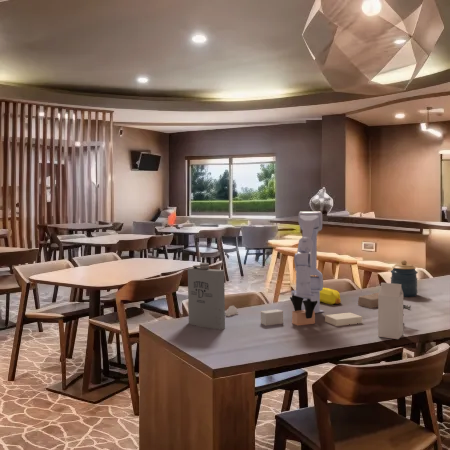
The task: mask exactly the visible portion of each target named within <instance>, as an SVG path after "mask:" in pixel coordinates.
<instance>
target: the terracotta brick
mask: <svg viewBox="0 0 450 450" xmlns="http://www.w3.org/2000/svg"><path fill="white" fill-rule="evenodd" d="M291 315H292V316H291V320H292V321H291V322H292V325H295V326H306V325H313V324H316V322H315V321H316V313H315V311H313V314H312V318H308V319H307V318H306V312H305V310H299V311H295V310H292V311H291Z"/></svg>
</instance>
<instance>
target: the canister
mask: <svg viewBox="0 0 450 450" xmlns="http://www.w3.org/2000/svg"><path fill="white" fill-rule="evenodd" d="M416 268H417V267H416V266H414V264H410V263H407V260H401V263H396V264H394V265H393V266H392V270H390V273H391V277H390V283H392V284H401V288H402V291H403V296H405V297H404V298H411V297H416V296H418V277H417V274H418V271H417V270H416Z"/></svg>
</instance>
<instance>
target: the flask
mask: <svg viewBox="0 0 450 450" xmlns="http://www.w3.org/2000/svg"><path fill="white" fill-rule="evenodd" d="M209 267H210V263H209V262H200V263H199V264H196V265H192V267H191V266H190V267H188V268H187V299H188V300H187V301H188V302H187V307H188V312H187V313H188V324H189V325H192V326H195V325H196V327H200V328H206V329H212V330H213V329H214V330H224V329H225V328H226V315H225V313H226V312H225V311H226V307H225V306H226V304H225V301H226V300H225V299H226V298H225V295H226V294H225V292H226V291H225V270H224V269H214V268H213V269H212V268H209Z"/></svg>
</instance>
